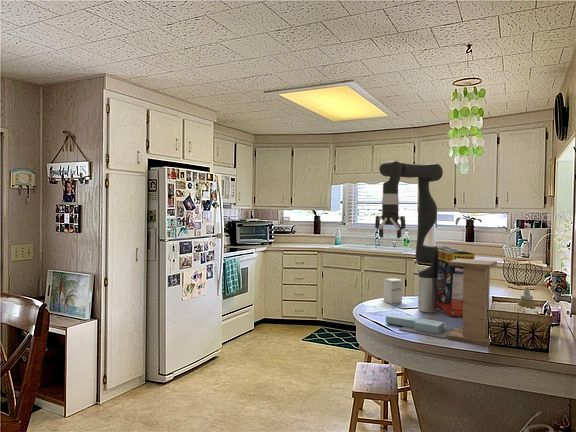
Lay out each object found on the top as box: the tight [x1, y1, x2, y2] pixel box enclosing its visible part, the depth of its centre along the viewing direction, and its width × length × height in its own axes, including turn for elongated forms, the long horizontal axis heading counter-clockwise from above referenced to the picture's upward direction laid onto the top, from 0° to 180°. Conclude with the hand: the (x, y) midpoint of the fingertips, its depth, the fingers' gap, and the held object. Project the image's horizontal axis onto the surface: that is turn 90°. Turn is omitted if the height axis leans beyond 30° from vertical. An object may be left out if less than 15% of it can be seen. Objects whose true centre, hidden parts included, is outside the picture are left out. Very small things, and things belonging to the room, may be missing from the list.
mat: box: [398, 326, 456, 339], centre depth 184 cm, size 15×19×1 cm
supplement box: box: [383, 277, 403, 305], centre depth 239 cm, size 7×7×13 cm
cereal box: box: [437, 246, 476, 319], centre depth 218 cm, size 27×11×32 cm, turn 1°
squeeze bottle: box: [517, 286, 537, 310], centre depth 188 cm, size 8×8×18 cm
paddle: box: [385, 314, 445, 334], centre depth 188 cm, size 8×24×3 cm, turn 53°
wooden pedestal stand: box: [447, 258, 498, 347], centre depth 173 cm, size 14×15×31 cm
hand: (389, 237), depth 204 cm, fingers open, 8 cm apart
